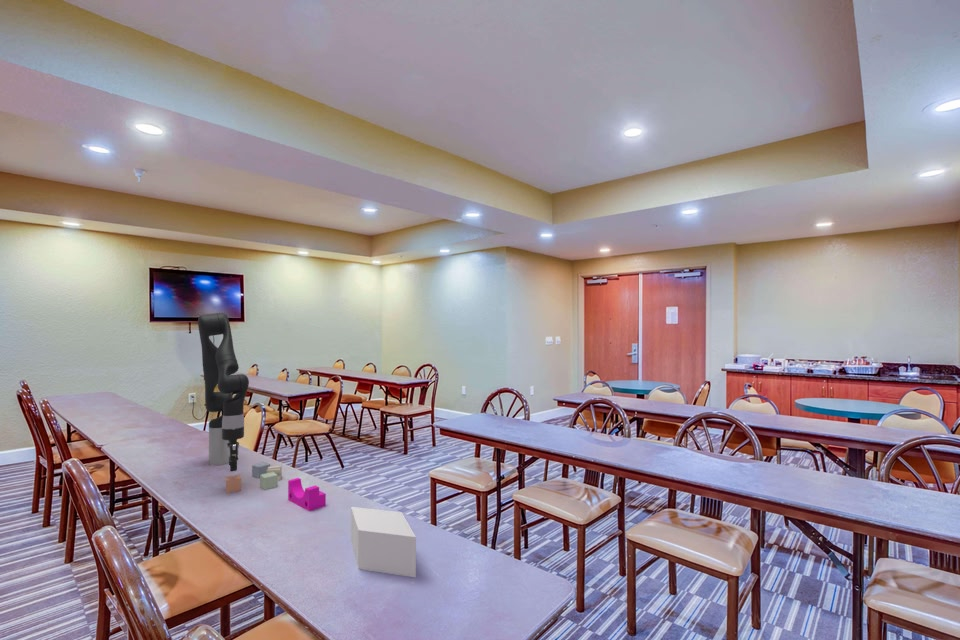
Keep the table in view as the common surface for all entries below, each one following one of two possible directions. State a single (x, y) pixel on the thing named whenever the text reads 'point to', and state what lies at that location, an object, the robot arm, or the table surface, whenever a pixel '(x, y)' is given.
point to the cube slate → (259, 469)
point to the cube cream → (276, 471)
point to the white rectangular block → (383, 541)
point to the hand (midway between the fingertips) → (232, 468)
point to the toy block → (305, 495)
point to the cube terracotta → (233, 483)
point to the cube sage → (268, 481)
